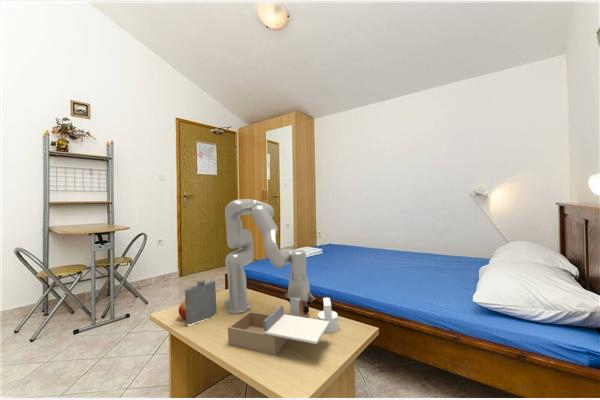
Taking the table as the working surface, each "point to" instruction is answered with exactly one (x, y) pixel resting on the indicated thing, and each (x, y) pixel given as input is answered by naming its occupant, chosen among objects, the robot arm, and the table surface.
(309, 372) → the table surface
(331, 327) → the base with upright slab
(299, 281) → the robot arm
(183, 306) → the apple
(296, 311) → the small box
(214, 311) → the grey flat upright block
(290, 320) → the lid
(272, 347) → the tray
